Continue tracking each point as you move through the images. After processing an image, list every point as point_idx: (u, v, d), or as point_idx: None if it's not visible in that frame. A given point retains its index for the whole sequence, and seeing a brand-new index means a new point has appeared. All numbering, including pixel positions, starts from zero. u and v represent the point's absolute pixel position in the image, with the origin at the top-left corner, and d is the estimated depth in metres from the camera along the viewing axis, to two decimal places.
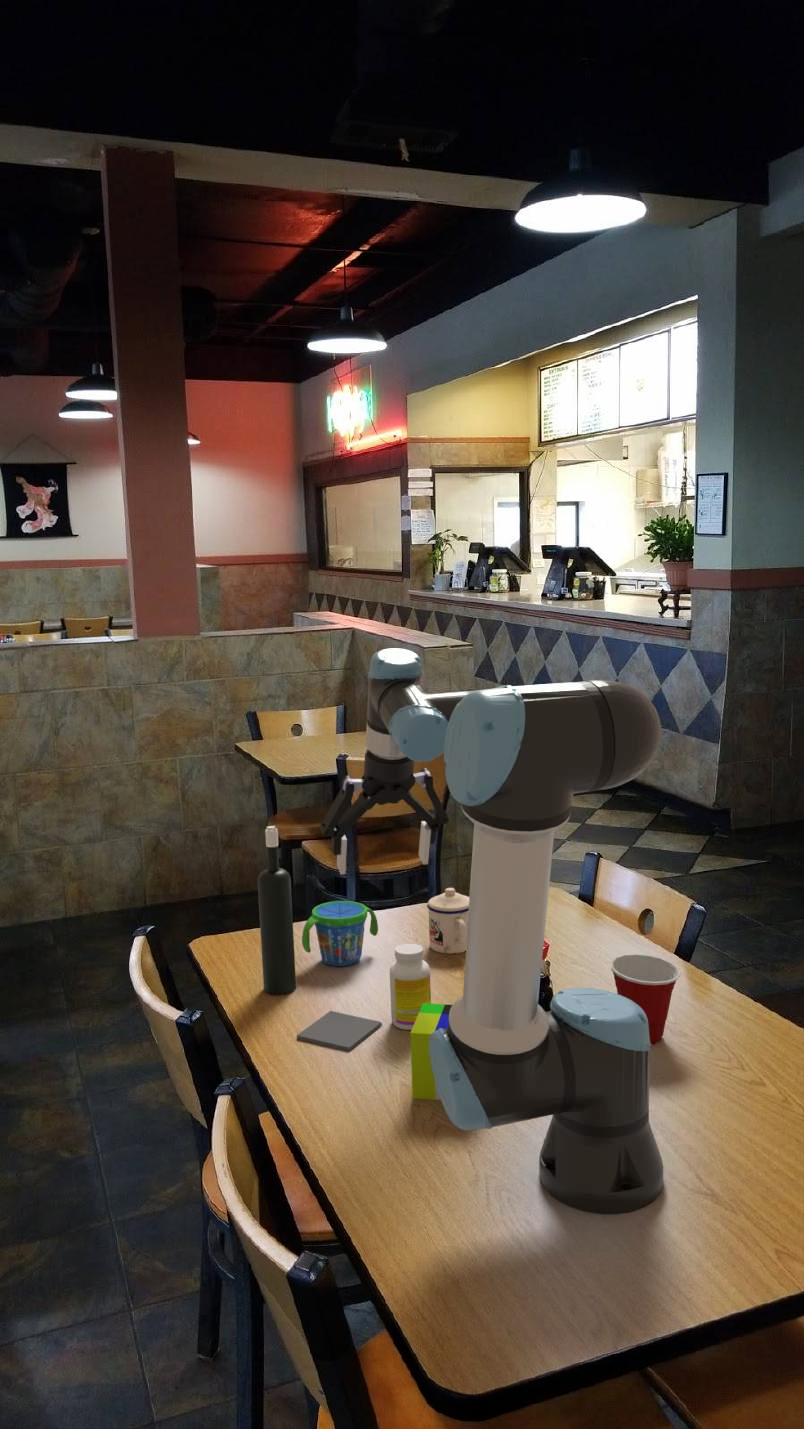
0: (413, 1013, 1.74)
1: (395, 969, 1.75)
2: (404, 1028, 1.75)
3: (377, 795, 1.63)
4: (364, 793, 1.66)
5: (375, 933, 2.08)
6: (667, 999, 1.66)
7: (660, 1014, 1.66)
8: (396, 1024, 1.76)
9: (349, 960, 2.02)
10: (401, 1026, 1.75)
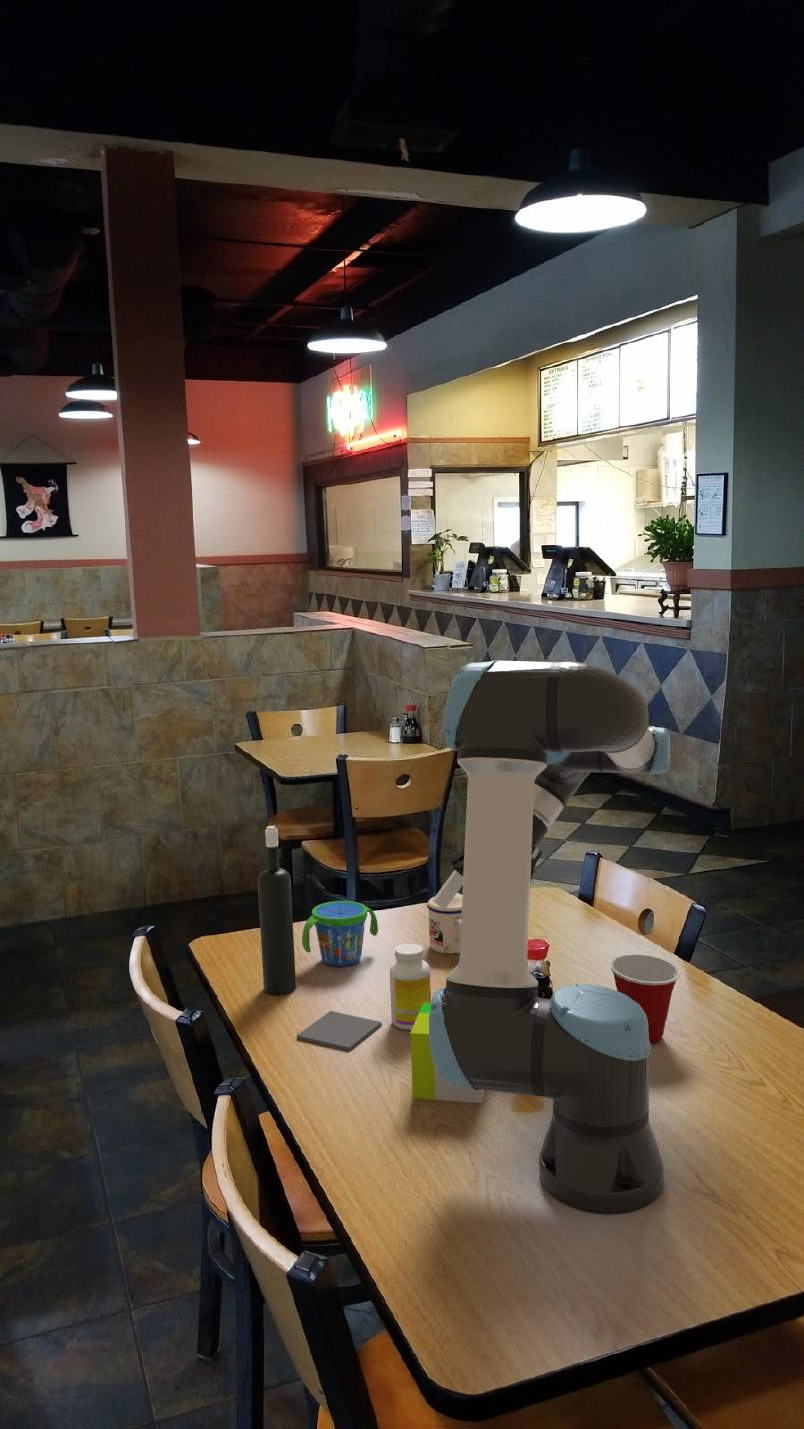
0: (413, 1013, 1.74)
1: (395, 969, 1.75)
2: (404, 1028, 1.75)
3: None
4: None
5: (375, 933, 2.08)
6: (667, 999, 1.66)
7: (660, 1014, 1.66)
8: (396, 1024, 1.76)
9: (349, 960, 2.02)
10: (401, 1026, 1.75)
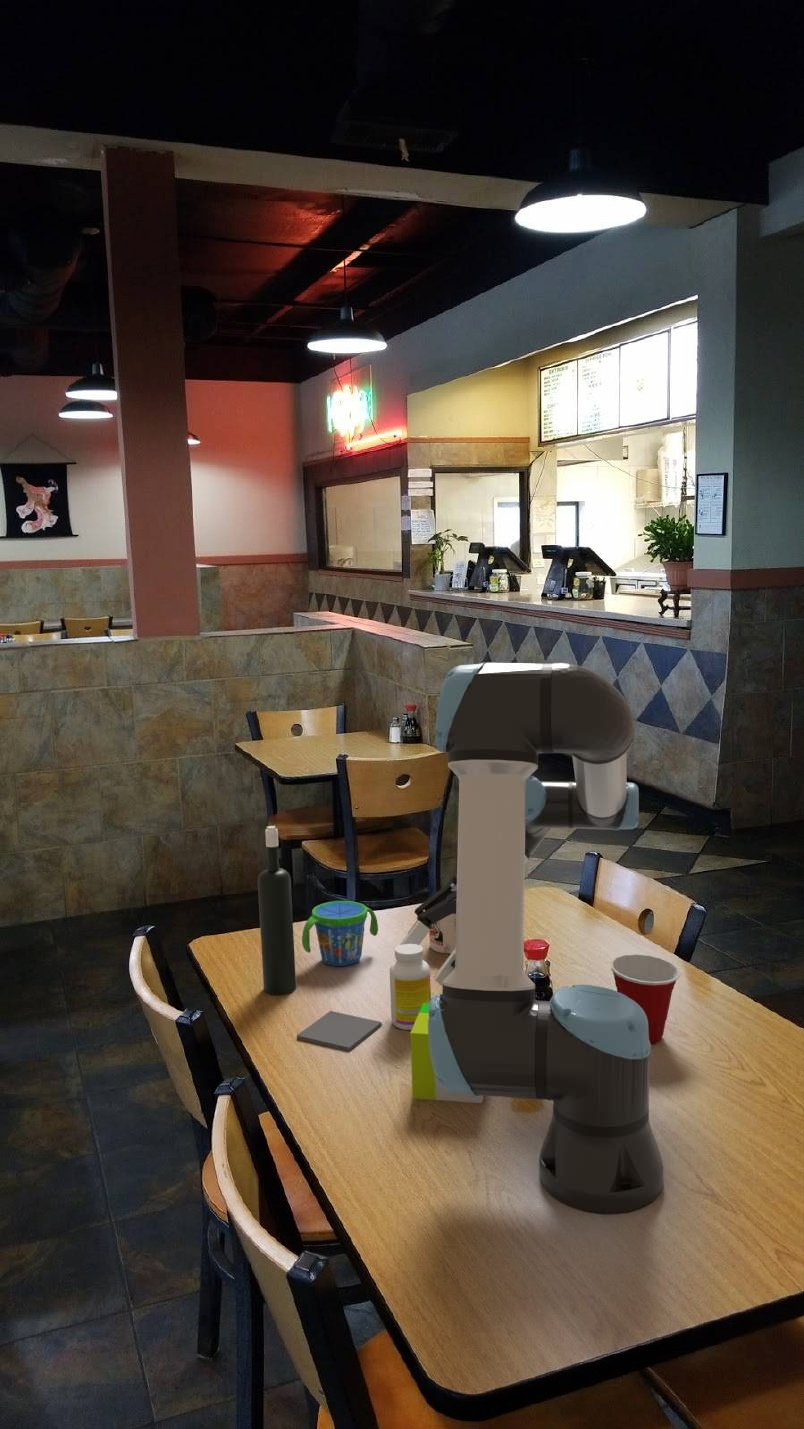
0: (413, 1013, 1.74)
1: (395, 969, 1.75)
2: (404, 1028, 1.75)
3: None
4: None
5: (375, 933, 2.08)
6: (667, 999, 1.66)
7: (660, 1014, 1.66)
8: (396, 1024, 1.76)
9: (349, 960, 2.02)
10: (401, 1026, 1.75)
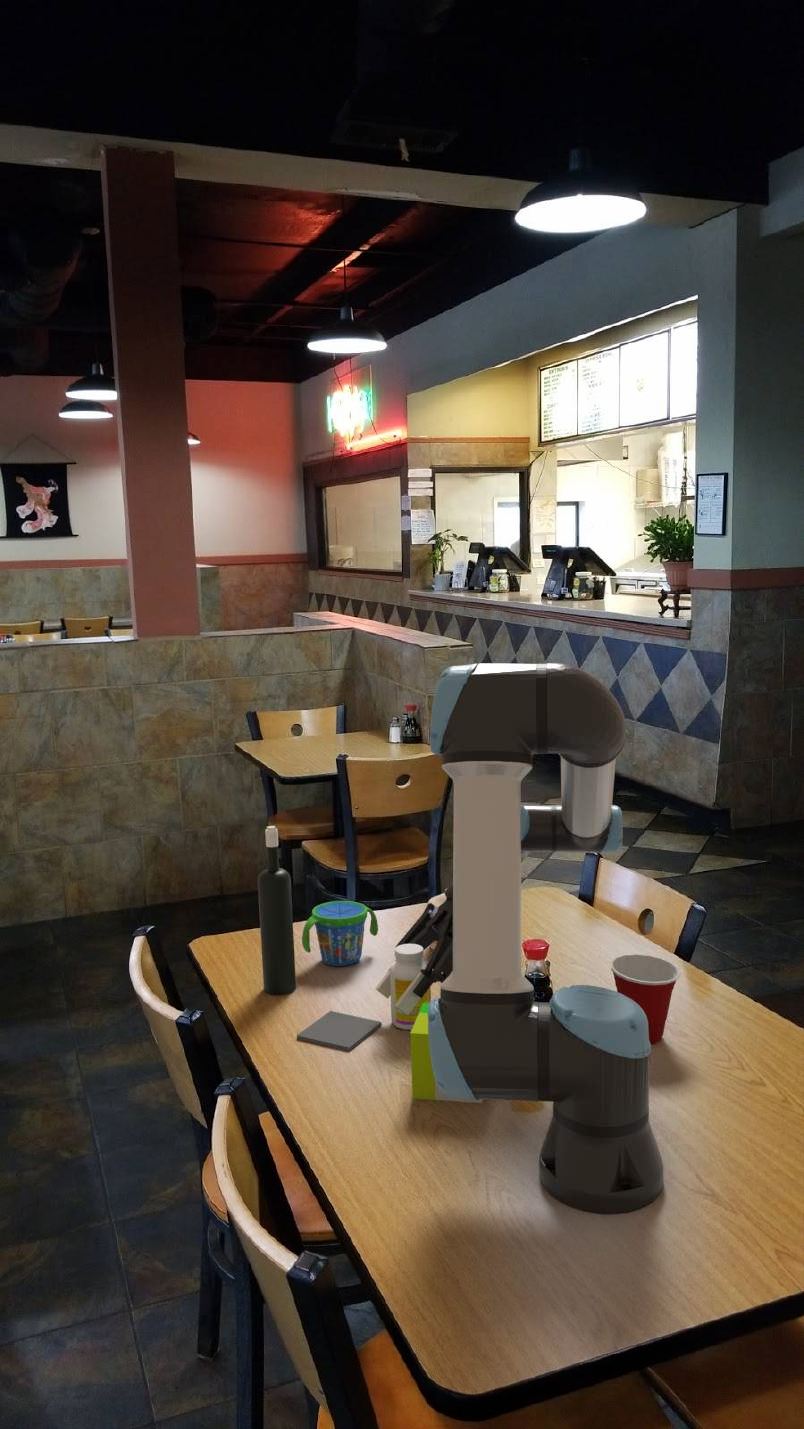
0: (413, 1013, 1.74)
1: (395, 969, 1.75)
2: (404, 1028, 1.75)
3: (436, 914, 1.80)
4: None
5: (375, 933, 2.08)
6: (667, 999, 1.66)
7: (660, 1014, 1.66)
8: (396, 1024, 1.76)
9: (349, 960, 2.02)
10: (401, 1026, 1.75)
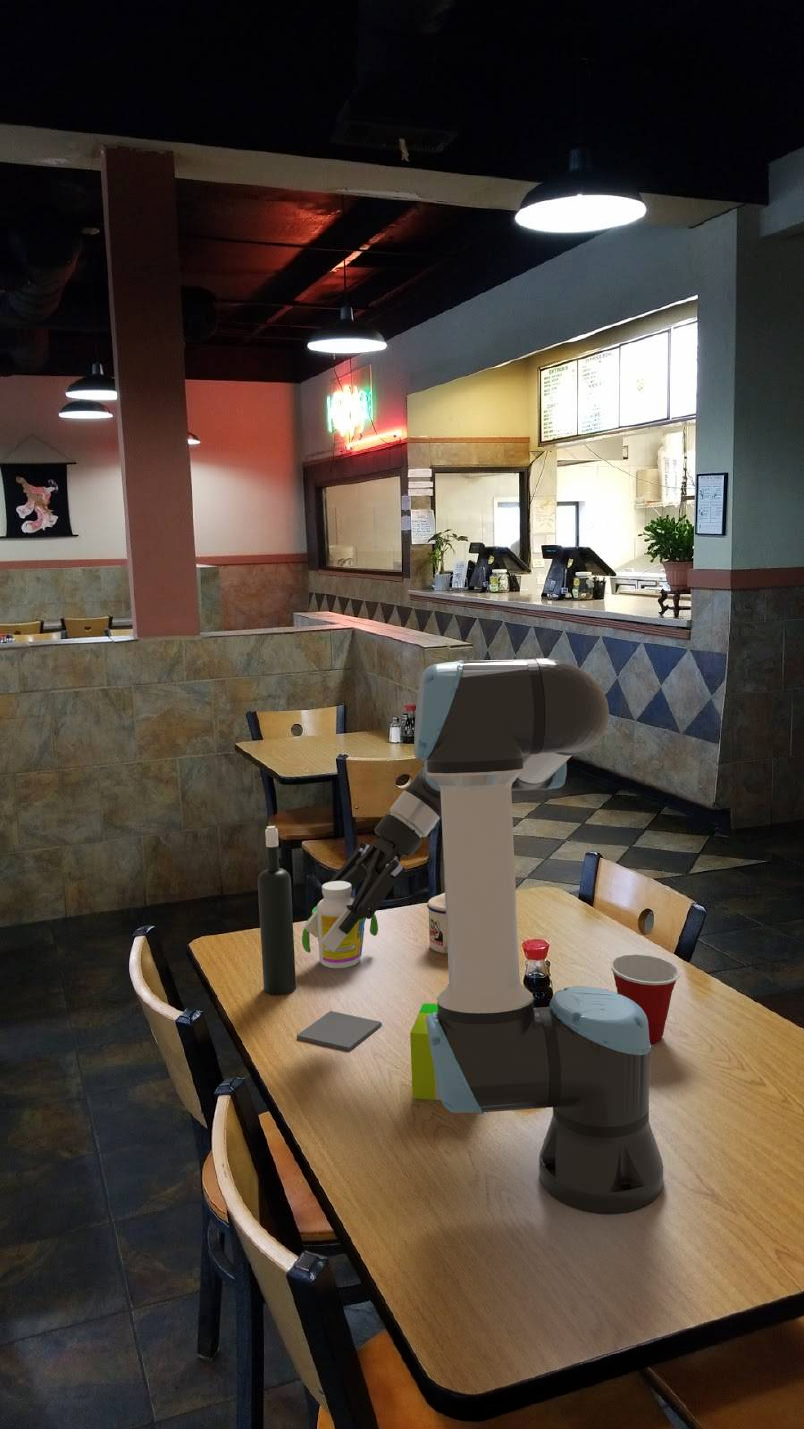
0: (340, 951, 1.70)
1: (322, 906, 1.71)
2: (331, 966, 1.71)
3: (366, 851, 1.76)
4: None
5: (375, 933, 2.08)
6: (667, 999, 1.66)
7: (660, 1014, 1.66)
8: (323, 962, 1.72)
9: None
10: (328, 964, 1.71)
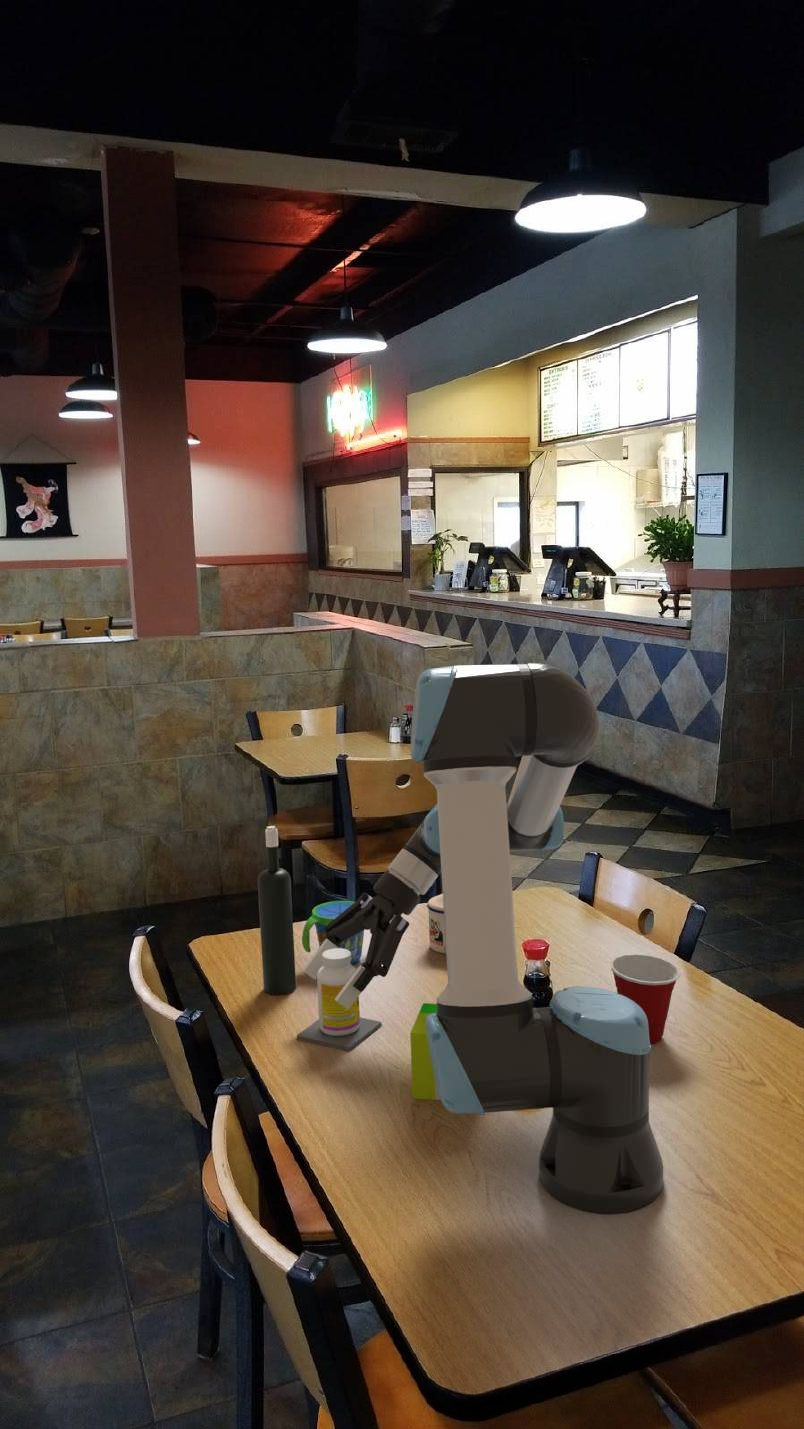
0: (340, 1019, 1.72)
1: (322, 974, 1.72)
2: (331, 1034, 1.73)
3: (365, 907, 1.77)
4: None
5: None
6: (667, 999, 1.66)
7: (660, 1014, 1.66)
8: (323, 1030, 1.73)
9: None
10: (328, 1032, 1.73)
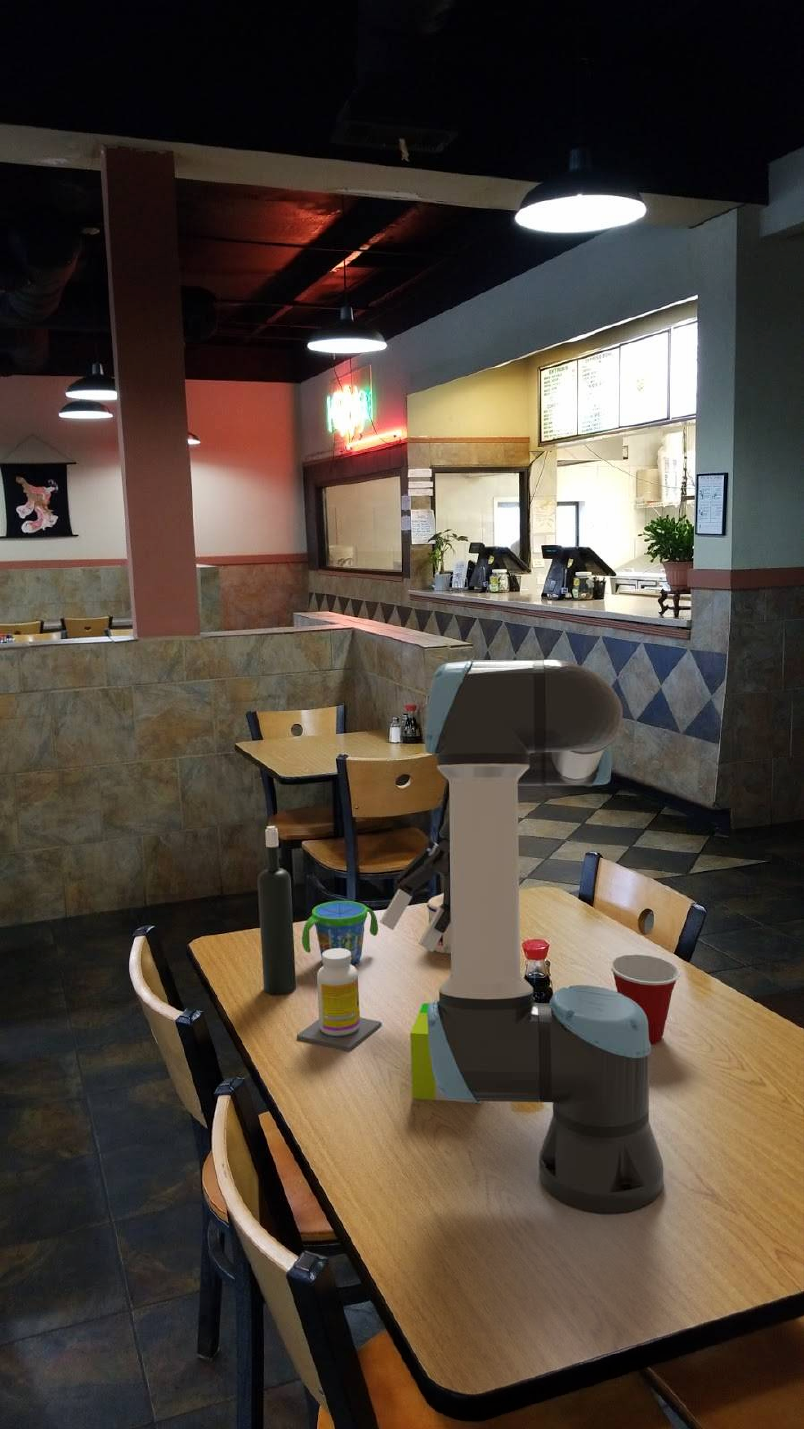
0: (340, 1019, 1.72)
1: (322, 974, 1.72)
2: (331, 1034, 1.73)
3: (433, 853, 1.81)
4: None
5: (375, 933, 2.08)
6: (667, 999, 1.66)
7: (660, 1014, 1.66)
8: (323, 1030, 1.73)
9: None
10: (328, 1032, 1.73)
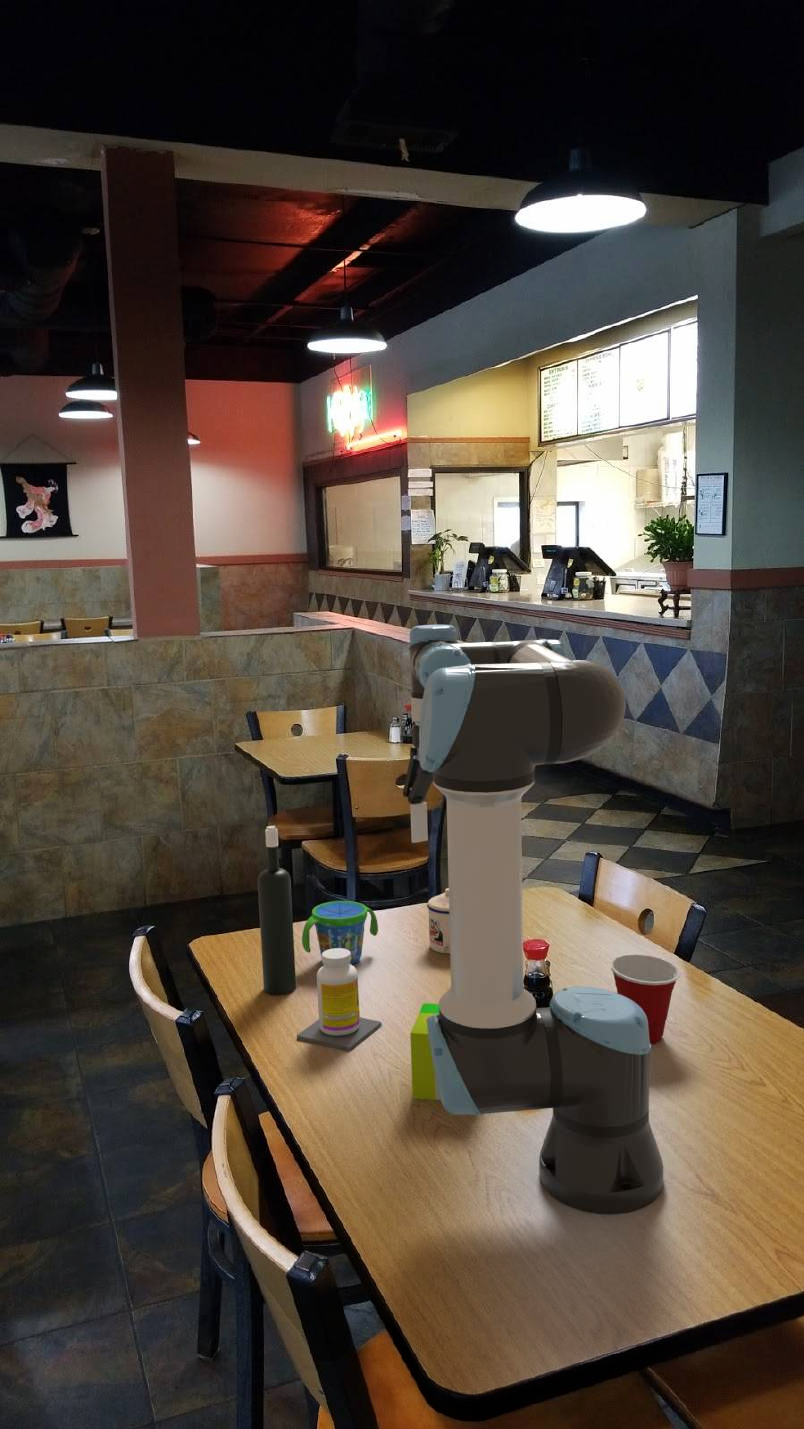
0: (340, 1019, 1.72)
1: (322, 974, 1.72)
2: (331, 1034, 1.73)
3: (420, 764, 1.74)
4: None
5: (375, 933, 2.08)
6: (667, 999, 1.66)
7: (660, 1014, 1.66)
8: (323, 1030, 1.73)
9: None
10: (328, 1032, 1.73)
